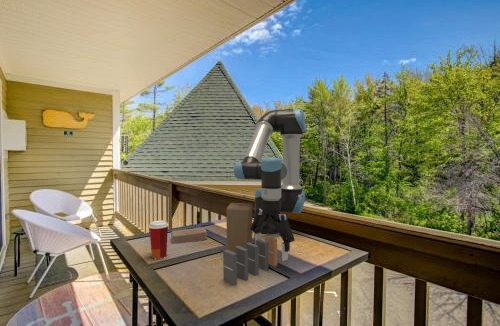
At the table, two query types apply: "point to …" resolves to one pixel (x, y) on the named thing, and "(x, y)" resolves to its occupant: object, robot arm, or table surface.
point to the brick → (188, 235)
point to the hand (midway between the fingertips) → (270, 254)
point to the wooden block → (239, 225)
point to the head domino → (272, 250)
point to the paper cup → (158, 238)
